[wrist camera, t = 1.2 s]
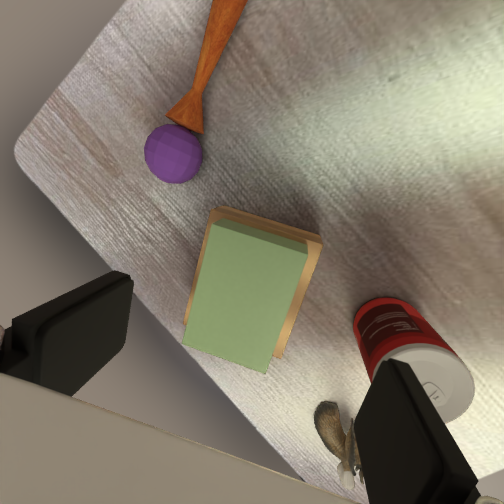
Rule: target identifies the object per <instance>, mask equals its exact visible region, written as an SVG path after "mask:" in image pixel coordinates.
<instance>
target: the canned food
mask: <svg viewBox="0 0 504 504" xmlns="http://www.w3.org/2000/svg"><path fill="white" fill-rule="evenodd" d="M353 330H354V335H355V338H356V341H357V344H358V347H359V350H360V353H361V356H362V358H363V361H364V364H365V367H366V370H367V373H368V376H369V379H370V382H371V383H372V381H373V379H374V377H375V375H376V372H377V370H378V368H379V366H380V364H381V362H382V361H383V360H386V361H387V360H388V359H389V358H393V359H396V360H399V361H403V362H406V363H408V364H409V365H410V366H411V368H412V370H413V371H414V373H415V375H416V376H417V378H418V380H419V381H420V383H421V385H422V386H423V388H424V390H425V391H426V393H427V395H428V397H429V398H430V400H431V402H432V403H433V405H434V407H435V408H436V410H437V412H438V413H439V415H440V417H441V418H442V420H443V422H444V423H448V422H450V421H453V420H455V419H456V418H458V417H459V416H461V415H462V414H463V413H464V412H465V411H466V410H467V409H468V407H469V406H470V404H471V403H472V400H473V397H474V392H475V385H474V380H473V377H472V375H471V373H470V371H469V370H468V368H467V366H466V365H465V364H464V362H463V361H462V360H461V359H460V358H459V357H458V355H457V354H456V353H455V352H454V351H453V350H452V348H451V347H450V346H449V345H448V344H447V343H446V342H445V341H444V340H443V339H442V337H441V336H440V335H439V334H438V333H437V332H436V331H435V330H434V329H433V328H432V327H431V325H430V324H429V323H428V322H427V321H426V320H425V319H424V318H423V317H422V316H421V315H420V313H419V312H418V311H417V310H416V309H415V308H413V307H412V306H411V305H409V304H408V303H406V302H404V301H401V300H398V299H395V298H377V299H374V300H371V301H369V302H367V303H366V304H364V305H363V306H362V307H361V308H360V309H359V311H358V312H357V314H356V316H355V319H354V324H353Z"/></svg>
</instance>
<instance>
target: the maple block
mask: <svg viewBox="0 0 504 504" xmlns="http://www.w3.org/2000/svg"><path fill="white" fill-rule="evenodd" d="M222 218H225V219H228V220H231V221H234V222H238V223H241V224H244V225H247V226H250V227H253V228H256V229H260V230H263V231H266V232H269V233H272V234H275V235H278V236H282V237H285V238H288V239H291V240H294V241H297V242H300V243H304V244H307V247H308V257H307V260H306V263H305V266H304V268H303V271H302V274H301V277H300V280H299V282H298V285H297V288H296V291H295V293H294V296H293V299H292V302H291V305H290V307H289V310H288V313H287V316H286V318H285V321H284V324H283V327H282V329H281V332H280V335H279V338H278V341H277V343H276V346H275V349H274V352H273V354H272V356H274V357H276V358H279V359H281V357H282V355H283V352H284V349H285V347H286V344H287V341H288V339H289V336H290V333H291V331H292V328H293V325H294V323H295V320H296V317H297V314H298V312H299V309H300V306H301V304H302V301H303V298H304V296H305V293H306V290H307V288H308V285H309V282H310V280H311V277H312V274H313V272H314V269H315V266H316V263H317V261H318V258H319V255H320V253H321V250H322V247H323V242H322V240H321V237H320V235H317V234H314V233H311V232H308V231H304V230H301V229H298V228H295V227H292V226H289V225H285V224H282V223H279V222H276V221H273V220H269V219H266V218H263V217H260V216H257V215H254V214H250V213H247V212H244V211H241V210H238V209H234V208H231V207H228V206H225V205H222V206H219V207H216V208H213V209H211V211H210V215H209V219H208V223H207V227H206V231H205V235H204V239H203V243H202V248H201V252H200V256H199V260H198V264H197V268H196V272H195V276H194V280H193V284H192V288H191V293H190V297H189V301H188V305H187V309H186V313H185V317H184V321H183V324H184V325H187V321H188V317H189V313H190V309H191V305H192V301H193V297H194V293H195V289H196V285H197V281H198V277H199V273H200V269H201V265H202V261H203V257H204V253H205V249H206V245H207V241H208V237H209V232H210V228H211V224H212V223H214V222H216V221H218V220H220V219H222Z"/></svg>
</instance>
